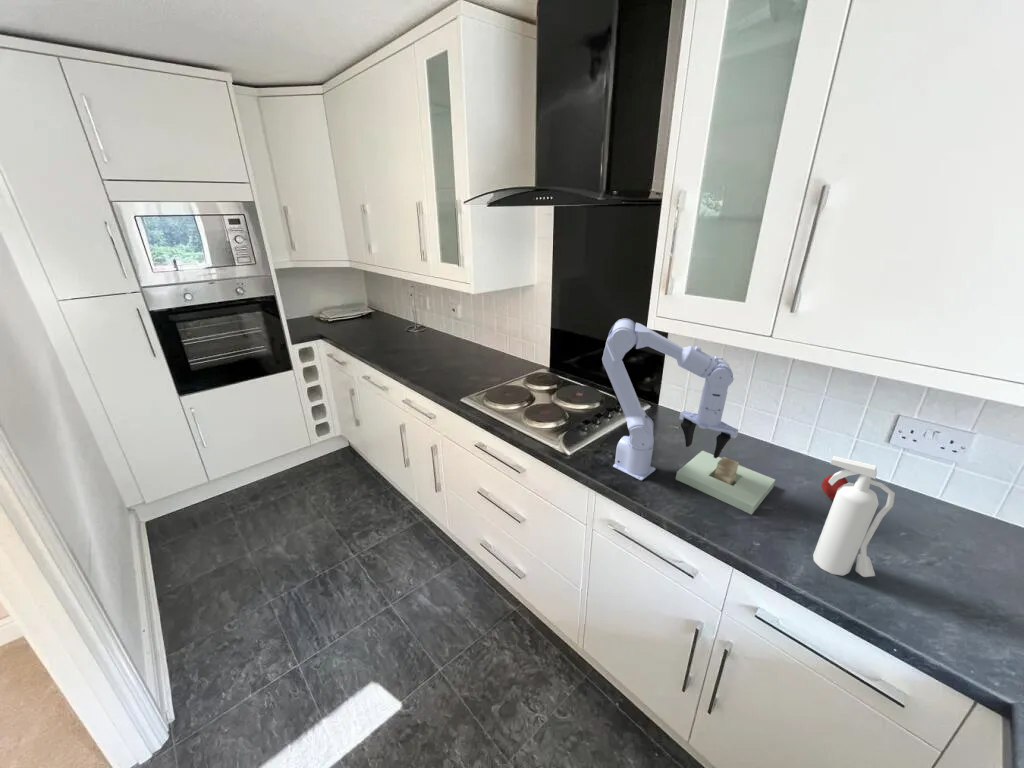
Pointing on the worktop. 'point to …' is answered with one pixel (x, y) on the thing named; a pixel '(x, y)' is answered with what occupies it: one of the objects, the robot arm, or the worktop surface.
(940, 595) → the worktop surface
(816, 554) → the fire extinguisher
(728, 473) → the beech block
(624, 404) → the robot arm
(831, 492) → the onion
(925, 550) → the worktop surface
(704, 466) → the well board
